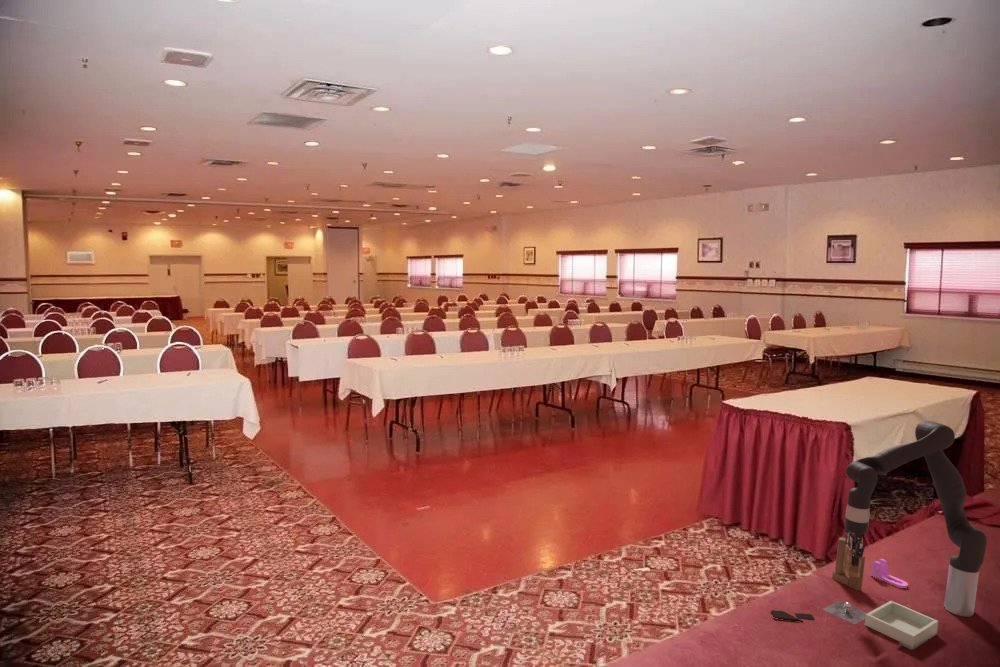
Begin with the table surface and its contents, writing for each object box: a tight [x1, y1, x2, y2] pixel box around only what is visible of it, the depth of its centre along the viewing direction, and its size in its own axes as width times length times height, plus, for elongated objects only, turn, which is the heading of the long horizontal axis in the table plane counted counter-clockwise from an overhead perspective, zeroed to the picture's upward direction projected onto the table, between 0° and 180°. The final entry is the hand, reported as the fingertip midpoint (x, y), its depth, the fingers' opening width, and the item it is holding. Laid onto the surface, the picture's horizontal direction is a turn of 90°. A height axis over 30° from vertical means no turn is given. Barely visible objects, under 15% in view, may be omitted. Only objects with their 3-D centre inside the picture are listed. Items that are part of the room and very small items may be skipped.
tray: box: [864, 600, 939, 651], centre depth 240 cm, size 18×16×5 cm
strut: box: [843, 545, 863, 577], centre depth 247 cm, size 4×4×10 cm
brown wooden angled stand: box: [831, 536, 866, 592], centre depth 271 cm, size 4×11×18 cm, turn 26°
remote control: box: [770, 609, 816, 623], centre depth 247 cm, size 5×2×15 cm
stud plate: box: [822, 600, 868, 625], centre depth 250 cm, size 12×12×5 cm
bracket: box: [870, 558, 909, 589], centre depth 276 cm, size 13×6×7 cm, turn 33°
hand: (852, 562), depth 247 cm, fingers closed on strut, 4 cm apart
